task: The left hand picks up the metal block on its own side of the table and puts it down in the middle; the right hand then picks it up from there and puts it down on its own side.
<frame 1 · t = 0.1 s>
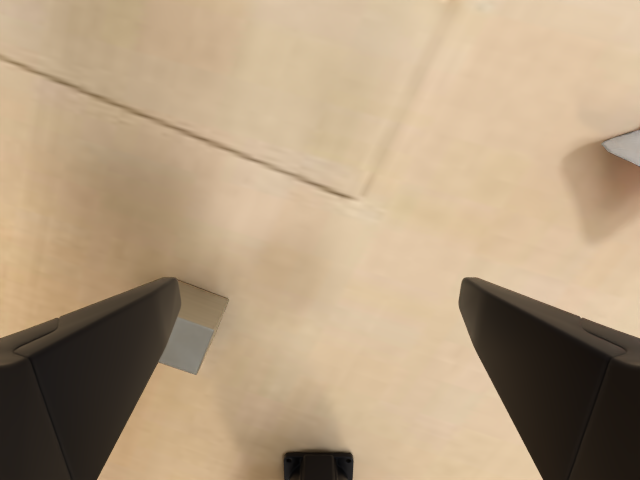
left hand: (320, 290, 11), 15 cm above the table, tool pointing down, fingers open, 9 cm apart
block: (194, 310, 28), on the table
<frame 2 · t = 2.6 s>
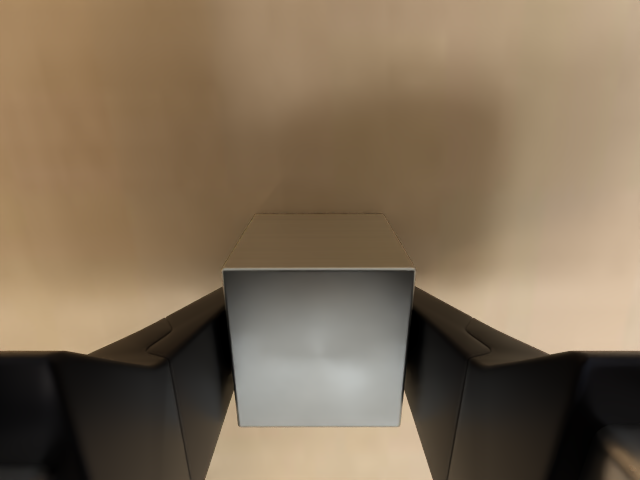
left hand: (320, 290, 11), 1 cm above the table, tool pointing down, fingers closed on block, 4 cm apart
block: (319, 276, 12), on the table, touching left hand
when the left hand's fingers open (2 cm above the table, at t = 10.2 s): block stays where it is, on the table.
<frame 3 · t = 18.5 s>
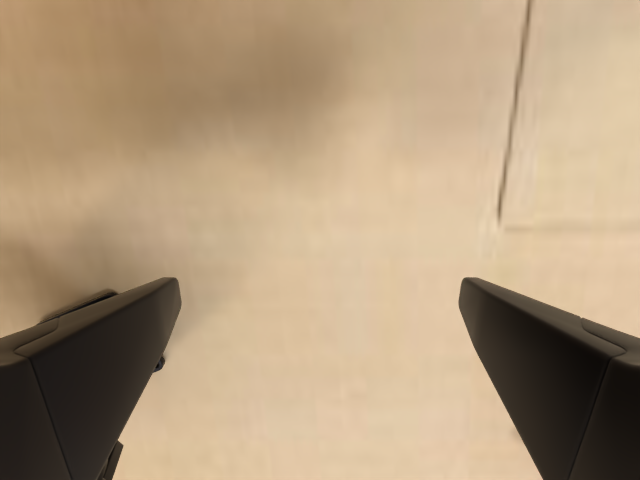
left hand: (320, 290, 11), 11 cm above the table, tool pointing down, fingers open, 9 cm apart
when the right hand's fingers open (1 cm above the table, at t = 27.8 s): block stays where it is, on the table.
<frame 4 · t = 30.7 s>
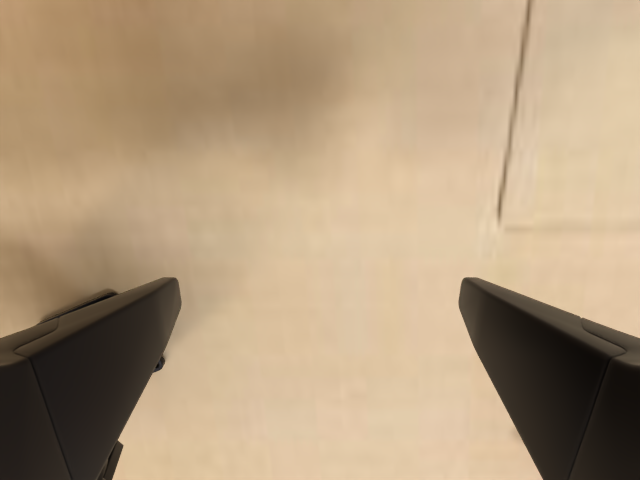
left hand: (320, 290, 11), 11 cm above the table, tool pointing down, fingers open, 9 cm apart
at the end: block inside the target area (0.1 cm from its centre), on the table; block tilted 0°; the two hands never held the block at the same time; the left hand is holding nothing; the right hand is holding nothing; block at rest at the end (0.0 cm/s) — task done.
